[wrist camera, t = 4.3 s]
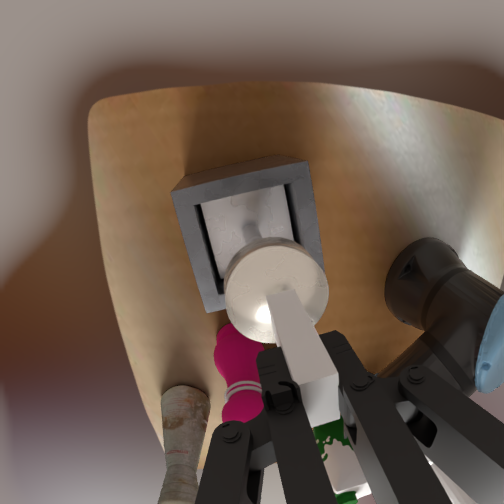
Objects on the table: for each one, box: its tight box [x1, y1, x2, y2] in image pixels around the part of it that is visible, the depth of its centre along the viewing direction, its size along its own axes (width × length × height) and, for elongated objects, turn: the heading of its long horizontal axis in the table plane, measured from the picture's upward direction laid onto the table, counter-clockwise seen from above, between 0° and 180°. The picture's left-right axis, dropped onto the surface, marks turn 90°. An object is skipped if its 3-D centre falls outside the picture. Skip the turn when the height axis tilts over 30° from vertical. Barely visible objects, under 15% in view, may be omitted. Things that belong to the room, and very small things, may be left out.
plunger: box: [201, 184, 329, 343], centre depth 25 cm, size 8×8×15 cm
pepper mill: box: [214, 323, 264, 423], centre depth 37 cm, size 7×7×20 cm
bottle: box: [158, 385, 211, 504], centre depth 37 cm, size 9×9×28 cm
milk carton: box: [313, 415, 371, 504], centre depth 49 cm, size 9×9×20 cm
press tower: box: [171, 155, 325, 313], centre depth 34 cm, size 12×12×13 cm
